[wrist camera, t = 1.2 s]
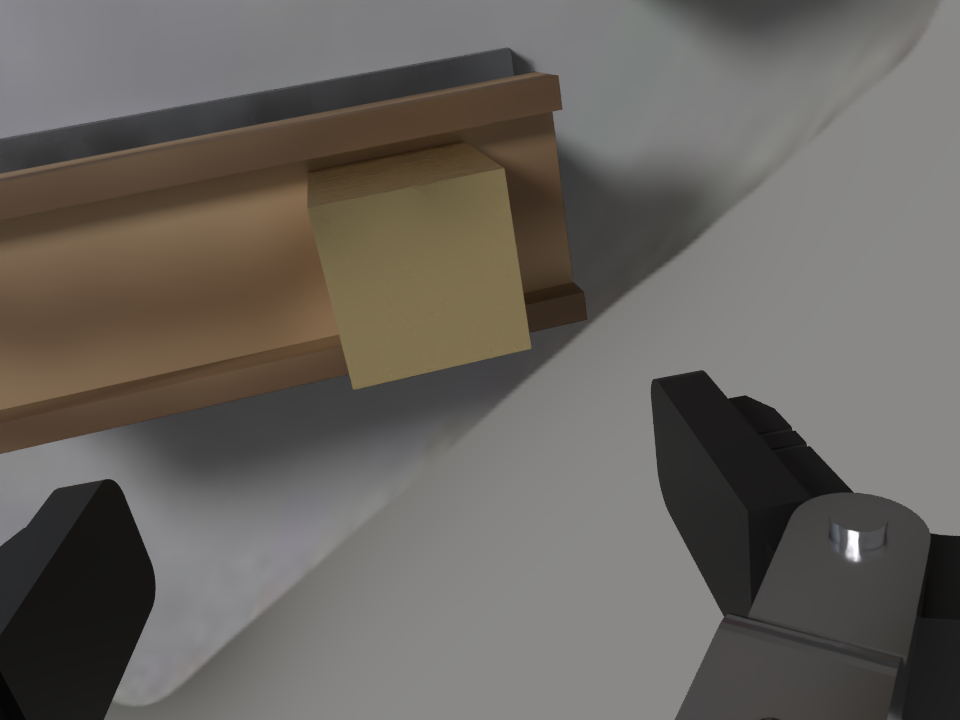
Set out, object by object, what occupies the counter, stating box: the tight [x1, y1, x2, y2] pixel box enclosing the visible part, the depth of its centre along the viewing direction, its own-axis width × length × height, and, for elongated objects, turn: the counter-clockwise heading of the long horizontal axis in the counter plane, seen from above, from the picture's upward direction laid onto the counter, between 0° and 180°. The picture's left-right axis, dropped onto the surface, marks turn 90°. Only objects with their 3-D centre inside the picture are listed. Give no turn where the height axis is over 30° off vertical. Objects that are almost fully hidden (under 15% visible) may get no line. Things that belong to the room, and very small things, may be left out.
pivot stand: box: [0, 48, 514, 174], centre depth 32 cm, size 9×30×10 cm, turn 99°
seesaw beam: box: [0, 72, 587, 454], centre depth 26 cm, size 8×30×3 cm, turn 99°
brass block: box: [307, 140, 531, 390], centre depth 24 cm, size 5×5×6 cm
